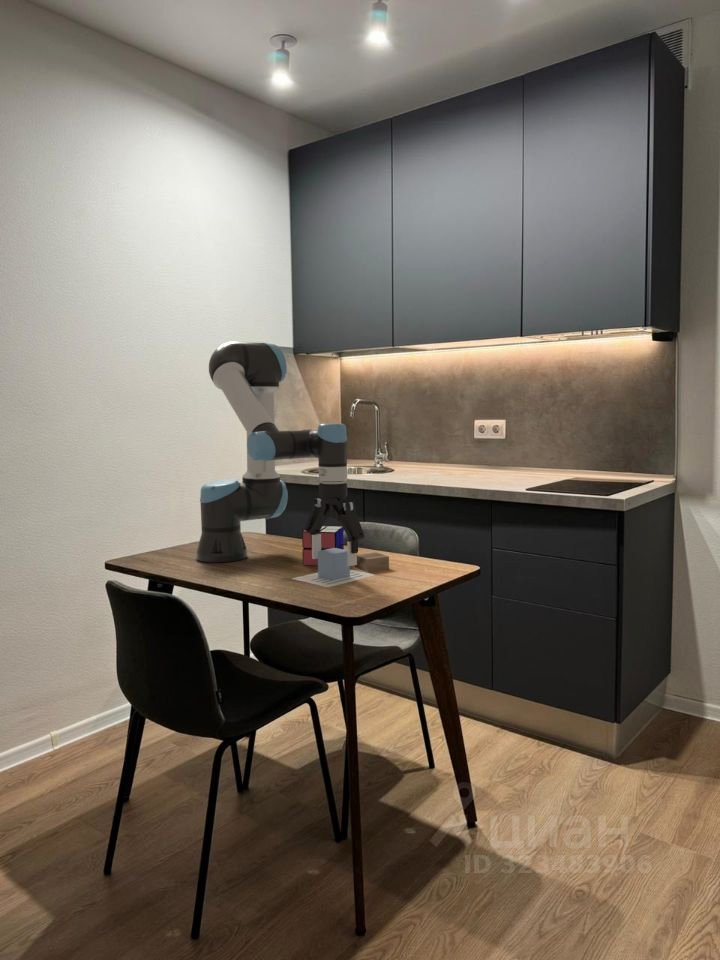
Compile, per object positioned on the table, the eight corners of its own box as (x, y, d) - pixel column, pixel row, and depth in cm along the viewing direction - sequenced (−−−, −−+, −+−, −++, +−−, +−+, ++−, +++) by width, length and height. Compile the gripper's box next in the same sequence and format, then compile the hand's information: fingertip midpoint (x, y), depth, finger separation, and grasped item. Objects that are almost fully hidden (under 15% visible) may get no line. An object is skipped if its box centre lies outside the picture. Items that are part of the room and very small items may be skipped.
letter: (291, 579, 193) (291, 578, 193) (340, 567, 205) (340, 567, 205) (327, 588, 183) (327, 587, 183) (376, 575, 196) (376, 574, 196)
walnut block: (354, 568, 206) (354, 554, 205) (376, 565, 209) (376, 552, 208) (367, 573, 199) (367, 559, 199) (389, 570, 203) (388, 556, 202)
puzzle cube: (336, 567, 207) (335, 532, 206) (302, 565, 209) (301, 531, 208) (344, 559, 217) (343, 526, 216) (311, 558, 219) (311, 525, 218)
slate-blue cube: (334, 573, 198) (334, 547, 198) (350, 576, 194) (349, 550, 193) (318, 577, 194) (317, 551, 193) (333, 580, 190) (333, 554, 189)
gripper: (291, 480, 198) (292, 557, 200) (356, 486, 180) (357, 571, 182) (311, 478, 203) (313, 553, 205) (377, 484, 186) (378, 566, 188)
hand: (334, 561), depth 194 cm, fingers open, 13 cm apart
